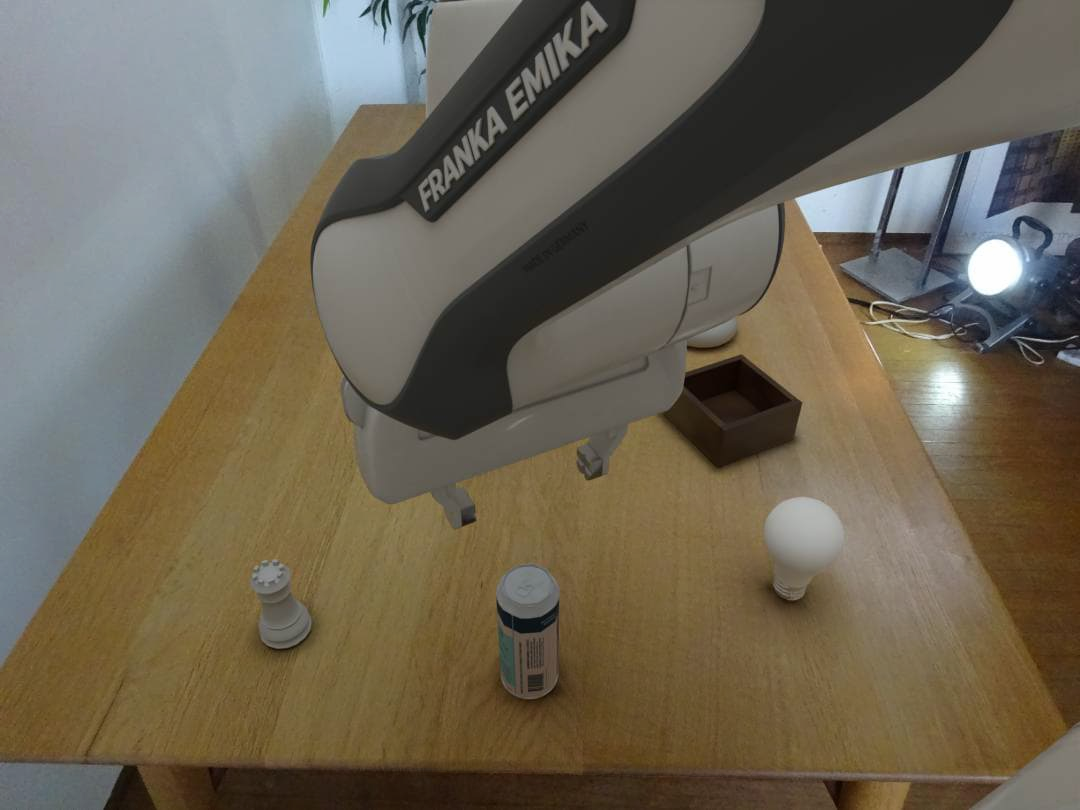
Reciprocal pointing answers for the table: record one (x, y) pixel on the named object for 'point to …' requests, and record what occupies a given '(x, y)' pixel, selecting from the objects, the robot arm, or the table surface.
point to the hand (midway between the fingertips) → (528, 495)
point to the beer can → (528, 630)
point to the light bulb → (801, 543)
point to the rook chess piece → (279, 606)
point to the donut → (714, 335)
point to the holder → (734, 410)
